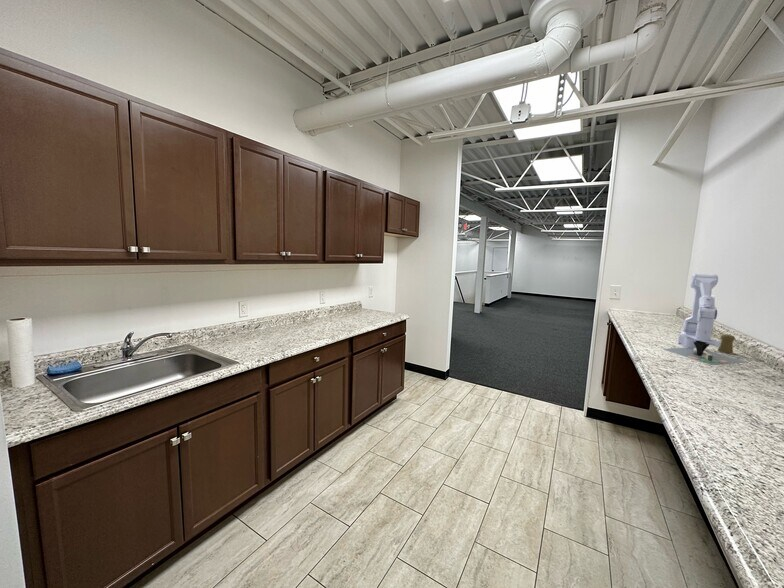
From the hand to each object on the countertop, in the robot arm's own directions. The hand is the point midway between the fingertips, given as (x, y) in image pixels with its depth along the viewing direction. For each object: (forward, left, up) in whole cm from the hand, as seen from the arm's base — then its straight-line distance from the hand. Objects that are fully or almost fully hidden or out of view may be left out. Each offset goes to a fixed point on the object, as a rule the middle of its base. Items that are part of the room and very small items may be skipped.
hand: (699, 355), depth 161 cm
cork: (-5, +25, -2) cm, 26 cm away
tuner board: (-2, +5, -2) cm, 6 cm away
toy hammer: (0, +3, -1) cm, 3 cm away
